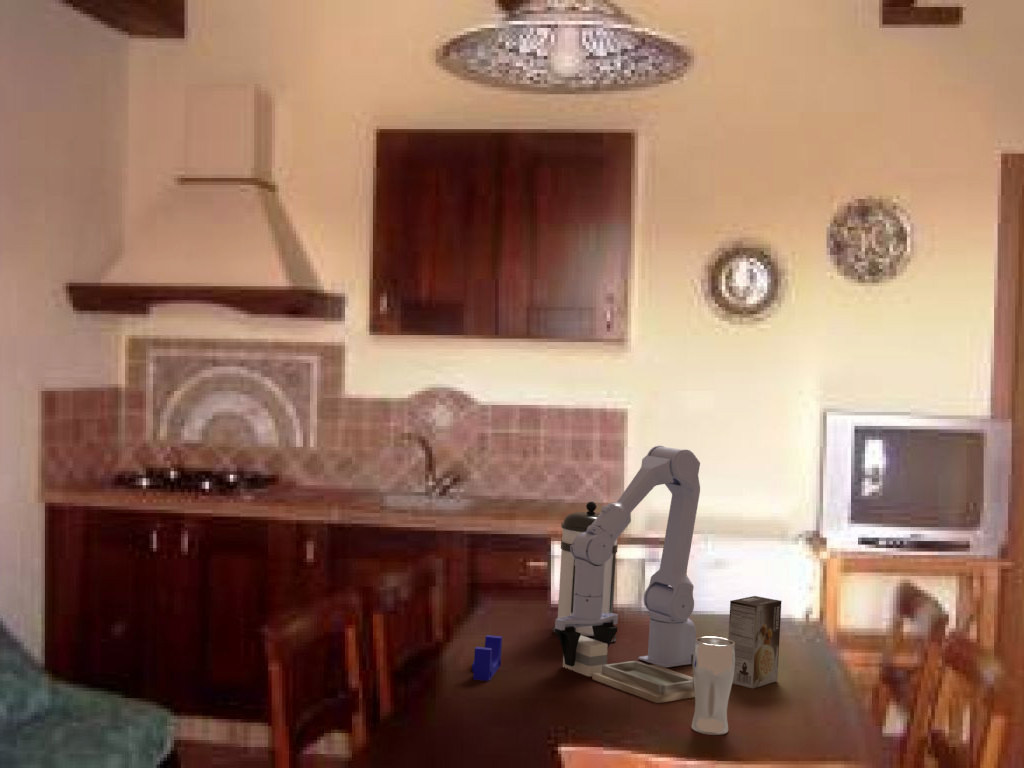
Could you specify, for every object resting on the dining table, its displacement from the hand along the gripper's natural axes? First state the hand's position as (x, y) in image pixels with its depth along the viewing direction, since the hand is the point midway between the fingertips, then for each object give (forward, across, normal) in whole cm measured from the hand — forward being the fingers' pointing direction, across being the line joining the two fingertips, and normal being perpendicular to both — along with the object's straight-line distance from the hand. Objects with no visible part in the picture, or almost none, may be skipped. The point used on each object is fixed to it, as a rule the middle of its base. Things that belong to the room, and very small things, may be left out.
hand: (584, 663), depth 244 cm
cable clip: (+2, +19, -7) cm, 21 cm away
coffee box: (+2, -25, +21) cm, 33 cm away
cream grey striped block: (+2, 0, 0) cm, 2 cm away
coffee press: (+2, -19, -24) cm, 31 cm away
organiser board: (+1, -5, +15) cm, 16 cm away
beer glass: (+2, +6, +40) cm, 40 cm away
